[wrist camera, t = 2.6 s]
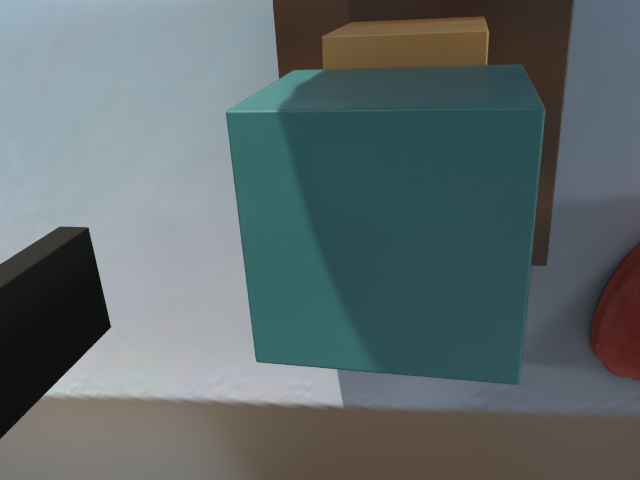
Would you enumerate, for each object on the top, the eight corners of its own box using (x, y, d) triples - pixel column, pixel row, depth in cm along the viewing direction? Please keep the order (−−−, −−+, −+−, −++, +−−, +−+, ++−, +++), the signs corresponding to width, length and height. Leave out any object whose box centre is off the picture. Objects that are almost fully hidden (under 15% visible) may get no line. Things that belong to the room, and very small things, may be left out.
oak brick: (349, 22, 23) (320, 36, 19) (485, 16, 22) (489, 29, 17) (357, 237, 27) (334, 292, 22) (473, 241, 25) (475, 300, 21)
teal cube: (292, 70, 19) (224, 110, 14) (522, 63, 18) (546, 106, 12) (306, 266, 22) (255, 363, 17) (506, 276, 20) (520, 386, 15)
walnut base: (295, -6, 26) (272, -2, 23) (562, -21, 24) (576, -19, 21) (311, 225, 31) (293, 254, 28) (538, 233, 28) (546, 266, 25)
